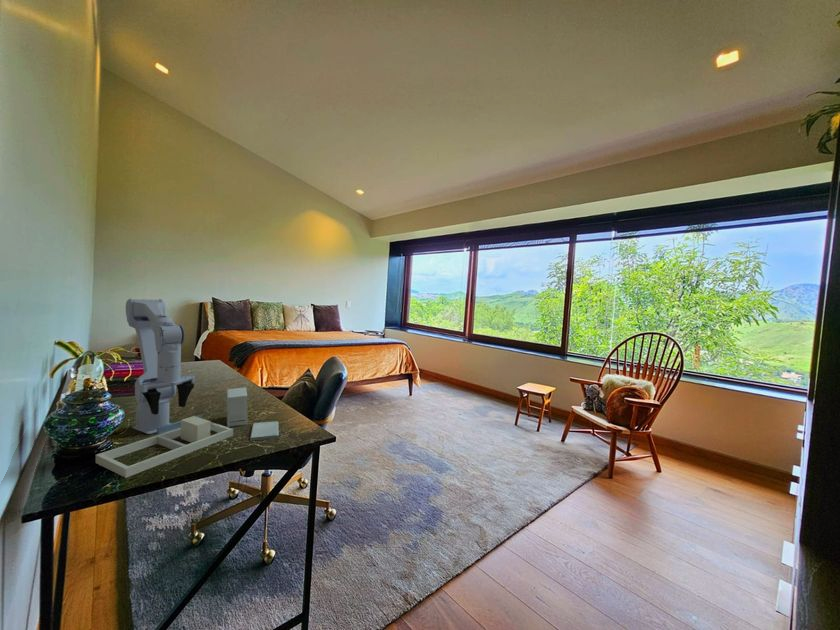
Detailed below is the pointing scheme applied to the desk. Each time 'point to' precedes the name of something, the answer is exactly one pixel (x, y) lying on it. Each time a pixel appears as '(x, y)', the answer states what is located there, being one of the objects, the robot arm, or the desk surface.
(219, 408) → the desk surface
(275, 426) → the hard drive
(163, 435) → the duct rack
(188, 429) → the cream rectangular block
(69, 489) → the desk surface
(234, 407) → the skincare box
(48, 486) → the desk surface
